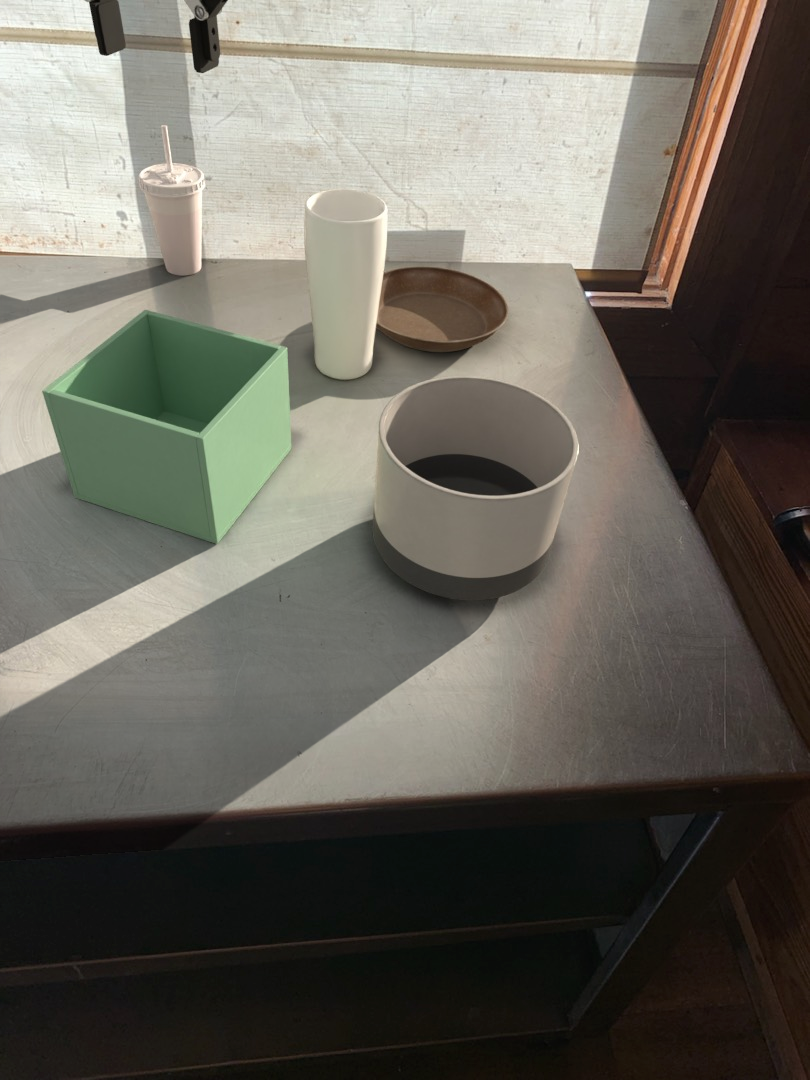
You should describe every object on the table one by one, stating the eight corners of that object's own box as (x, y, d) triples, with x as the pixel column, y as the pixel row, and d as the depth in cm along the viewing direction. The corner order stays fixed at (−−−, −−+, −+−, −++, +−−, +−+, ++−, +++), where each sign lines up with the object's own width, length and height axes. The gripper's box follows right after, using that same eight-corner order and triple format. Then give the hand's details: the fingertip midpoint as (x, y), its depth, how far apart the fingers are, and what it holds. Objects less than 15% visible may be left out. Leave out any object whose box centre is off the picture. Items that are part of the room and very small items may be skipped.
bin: (74, 497, 59) (41, 390, 52) (163, 411, 67) (145, 309, 60) (217, 544, 56) (202, 439, 50) (291, 448, 64) (287, 347, 58)
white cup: (388, 383, 72) (398, 220, 61) (315, 391, 70) (313, 225, 60) (369, 343, 77) (376, 186, 66) (300, 350, 75) (296, 189, 64)
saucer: (530, 322, 82) (535, 298, 80) (453, 383, 73) (456, 358, 71) (414, 275, 87) (416, 252, 85) (329, 327, 78) (329, 302, 76)
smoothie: (209, 251, 88) (194, 115, 78) (218, 278, 84) (203, 138, 74) (149, 256, 86) (126, 117, 76) (156, 284, 82) (132, 141, 72)
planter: (341, 572, 55) (343, 456, 48) (414, 468, 64) (426, 356, 56) (514, 639, 52) (545, 526, 45) (566, 521, 61) (600, 409, 53)
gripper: (-10, -210, 58) (51, 55, 70) (197, -188, 54) (224, 87, 67) (56, -211, 63) (102, 37, 75) (249, -191, 59) (265, 65, 72)
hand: (159, 60), depth 71 cm, fingers open, 9 cm apart
